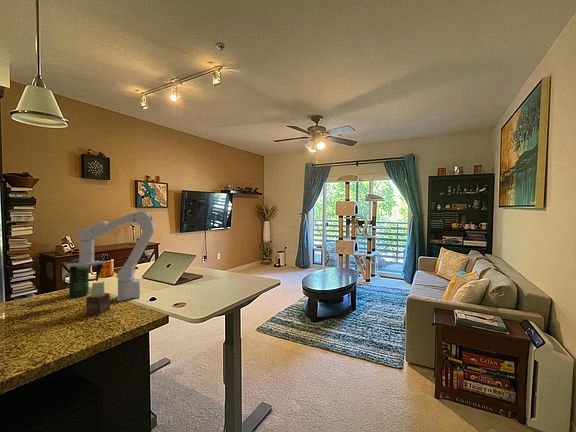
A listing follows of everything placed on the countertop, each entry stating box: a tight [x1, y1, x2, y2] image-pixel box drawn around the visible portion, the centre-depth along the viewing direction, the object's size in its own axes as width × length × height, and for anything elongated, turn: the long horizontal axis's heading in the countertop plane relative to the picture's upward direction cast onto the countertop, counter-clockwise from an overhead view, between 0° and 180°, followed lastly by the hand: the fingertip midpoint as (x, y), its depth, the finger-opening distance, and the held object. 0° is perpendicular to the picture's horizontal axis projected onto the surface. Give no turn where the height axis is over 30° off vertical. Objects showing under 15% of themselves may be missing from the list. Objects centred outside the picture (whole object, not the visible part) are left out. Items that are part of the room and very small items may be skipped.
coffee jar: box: [68, 257, 90, 298], centre depth 139 cm, size 10×8×19 cm
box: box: [85, 292, 111, 316], centre depth 116 cm, size 6×6×7 cm
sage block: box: [91, 281, 105, 297], centre depth 116 cm, size 4×4×5 cm
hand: (86, 281), depth 129 cm, fingers open, 7 cm apart
